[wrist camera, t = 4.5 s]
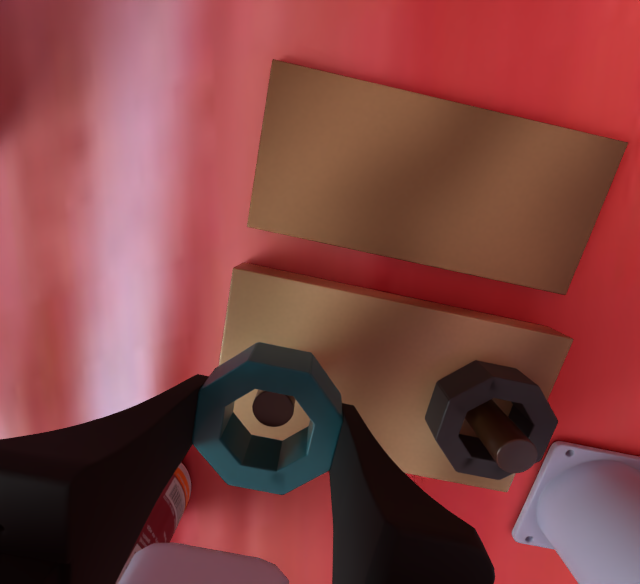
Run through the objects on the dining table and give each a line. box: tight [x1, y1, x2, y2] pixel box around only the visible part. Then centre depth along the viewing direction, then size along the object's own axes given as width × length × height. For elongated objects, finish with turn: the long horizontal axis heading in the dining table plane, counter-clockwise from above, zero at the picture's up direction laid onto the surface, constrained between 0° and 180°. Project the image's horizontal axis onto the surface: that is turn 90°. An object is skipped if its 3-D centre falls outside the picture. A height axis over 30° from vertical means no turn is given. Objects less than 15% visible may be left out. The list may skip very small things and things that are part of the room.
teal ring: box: [192, 342, 343, 495], centre depth 13 cm, size 6×6×2 cm
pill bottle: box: [116, 462, 191, 584], centre depth 15 cm, size 6×6×11 cm
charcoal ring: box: [425, 360, 558, 480], centre depth 16 cm, size 6×6×2 cm
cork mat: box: [247, 59, 628, 295], centre depth 16 cm, size 18×8×1 cm, turn 78°
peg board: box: [219, 262, 573, 492], centre depth 16 cm, size 18×10×6 cm, turn 78°
